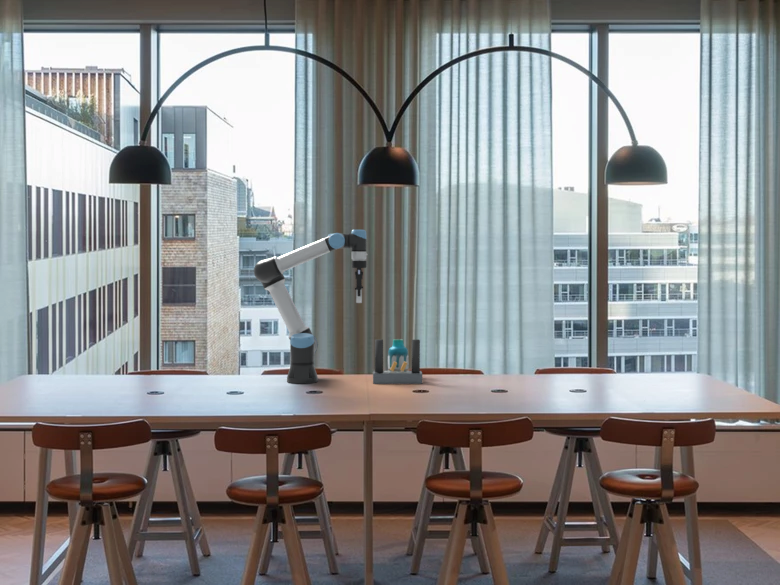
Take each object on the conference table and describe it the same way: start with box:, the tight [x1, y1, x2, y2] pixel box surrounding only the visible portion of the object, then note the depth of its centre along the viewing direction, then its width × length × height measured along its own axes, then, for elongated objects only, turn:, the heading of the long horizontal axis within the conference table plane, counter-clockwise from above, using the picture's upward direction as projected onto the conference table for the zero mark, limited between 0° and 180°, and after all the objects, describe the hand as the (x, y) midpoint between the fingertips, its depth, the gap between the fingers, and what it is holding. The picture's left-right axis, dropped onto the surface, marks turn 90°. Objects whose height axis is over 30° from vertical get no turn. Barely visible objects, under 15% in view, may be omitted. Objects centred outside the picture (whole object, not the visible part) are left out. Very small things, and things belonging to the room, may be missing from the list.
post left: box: [374, 339, 384, 373], centre depth 467 cm, size 4×4×16 cm
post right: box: [411, 338, 421, 373], centre depth 467 cm, size 4×4×16 cm
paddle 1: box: [390, 361, 397, 371], centre depth 467 cm, size 2×3×4 cm, turn 2°
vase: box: [387, 338, 409, 371], centre depth 487 cm, size 11×11×19 cm
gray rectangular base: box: [372, 370, 423, 385], centre depth 467 cm, size 24×10×5 cm, turn 91°
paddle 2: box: [400, 361, 407, 371], centre depth 467 cm, size 2×3×4 cm, turn 2°
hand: (359, 302), depth 480 cm, fingers open, 13 cm apart
